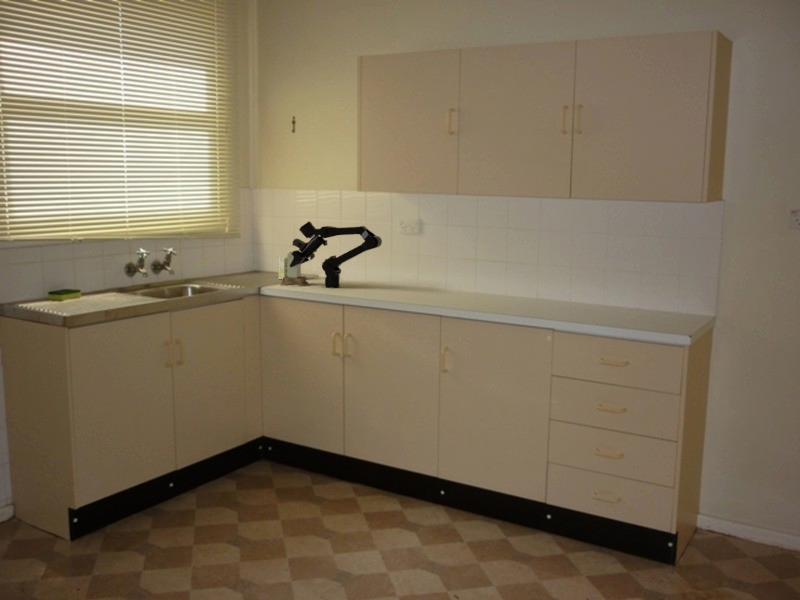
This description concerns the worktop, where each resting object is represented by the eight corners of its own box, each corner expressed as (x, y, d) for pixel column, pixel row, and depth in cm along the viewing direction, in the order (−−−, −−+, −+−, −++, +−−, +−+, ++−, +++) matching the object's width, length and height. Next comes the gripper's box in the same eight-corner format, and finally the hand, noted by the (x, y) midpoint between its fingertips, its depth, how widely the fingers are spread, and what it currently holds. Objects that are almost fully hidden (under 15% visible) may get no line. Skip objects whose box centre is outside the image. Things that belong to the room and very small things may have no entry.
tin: (300, 279, 406) (300, 251, 405) (296, 280, 402) (297, 252, 400) (290, 278, 407) (290, 251, 406) (287, 279, 403) (287, 252, 401)
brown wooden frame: (307, 283, 409) (308, 276, 409) (304, 286, 400) (304, 279, 399) (284, 282, 410) (284, 275, 410) (280, 285, 400) (280, 278, 400)
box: (295, 278, 428) (295, 256, 427) (300, 279, 424) (301, 257, 422) (278, 279, 422) (278, 257, 420) (283, 280, 418) (284, 258, 416)
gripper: (309, 232, 409) (288, 252, 413) (295, 234, 391) (274, 256, 395) (323, 248, 408) (303, 268, 413) (310, 251, 390) (289, 272, 395)
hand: (292, 266), depth 404 cm, fingers closed on tin, 5 cm apart
